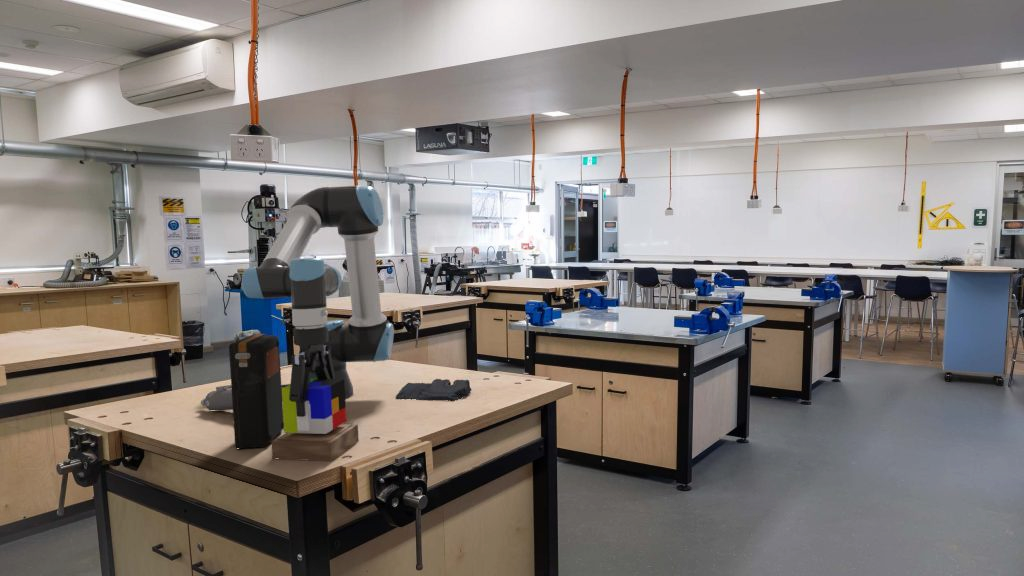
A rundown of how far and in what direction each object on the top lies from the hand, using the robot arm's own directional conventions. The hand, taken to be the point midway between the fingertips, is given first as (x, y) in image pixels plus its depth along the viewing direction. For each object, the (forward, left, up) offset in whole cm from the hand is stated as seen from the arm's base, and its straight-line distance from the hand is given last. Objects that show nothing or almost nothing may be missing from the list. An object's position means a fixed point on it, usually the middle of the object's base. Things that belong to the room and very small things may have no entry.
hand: (315, 423), depth 145 cm
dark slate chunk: (-54, +11, -7) cm, 55 cm away
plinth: (0, 0, -6) cm, 6 cm away
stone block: (-58, -52, -6) cm, 78 cm away
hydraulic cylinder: (-27, -35, -6) cm, 45 cm away
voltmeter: (-6, -18, -6) cm, 20 cm away
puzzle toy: (0, 0, -1) cm, 1 cm away
